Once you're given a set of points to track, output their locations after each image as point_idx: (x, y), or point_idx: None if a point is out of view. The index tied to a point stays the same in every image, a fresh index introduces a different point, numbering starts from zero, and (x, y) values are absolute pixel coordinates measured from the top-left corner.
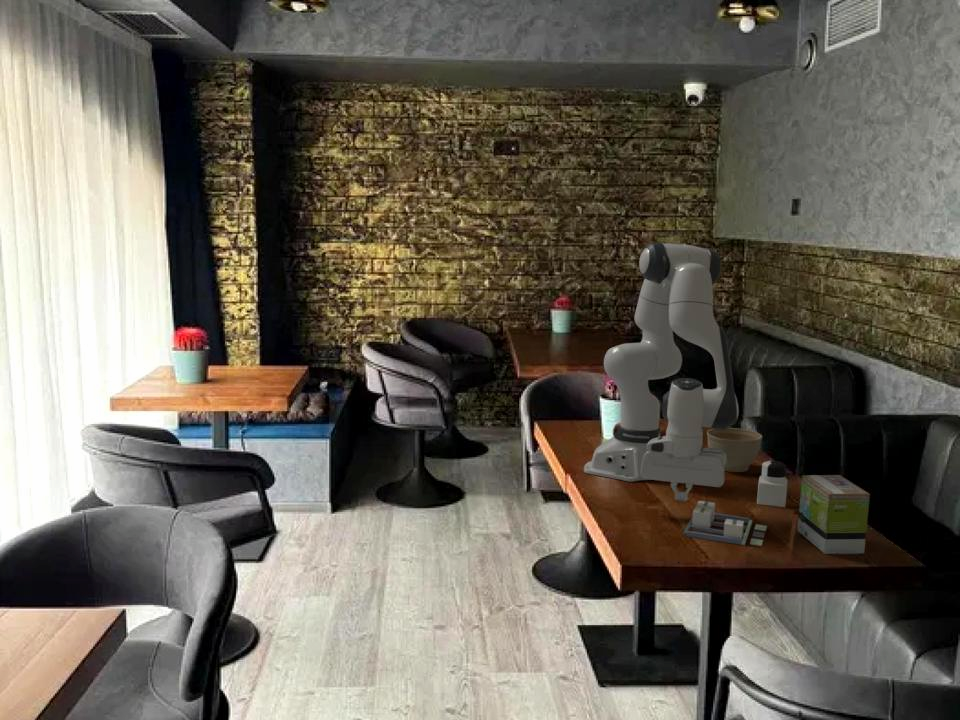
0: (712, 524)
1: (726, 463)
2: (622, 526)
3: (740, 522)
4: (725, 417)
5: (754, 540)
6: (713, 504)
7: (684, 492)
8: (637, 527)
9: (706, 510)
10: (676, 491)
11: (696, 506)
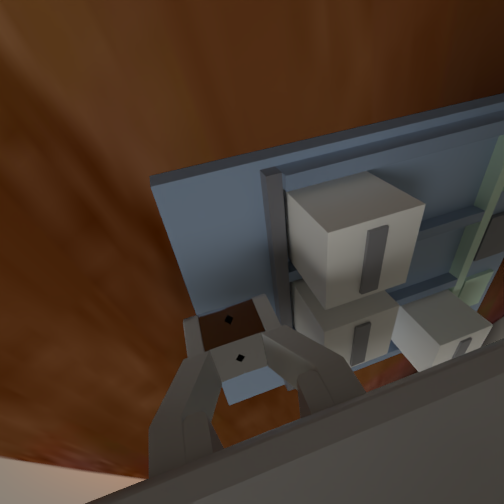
0: None
1: None
2: (55, 416)
3: (477, 342)
4: None
5: (469, 289)
6: (412, 236)
7: (259, 339)
8: (104, 389)
9: (374, 331)
10: (217, 399)
11: (322, 304)
